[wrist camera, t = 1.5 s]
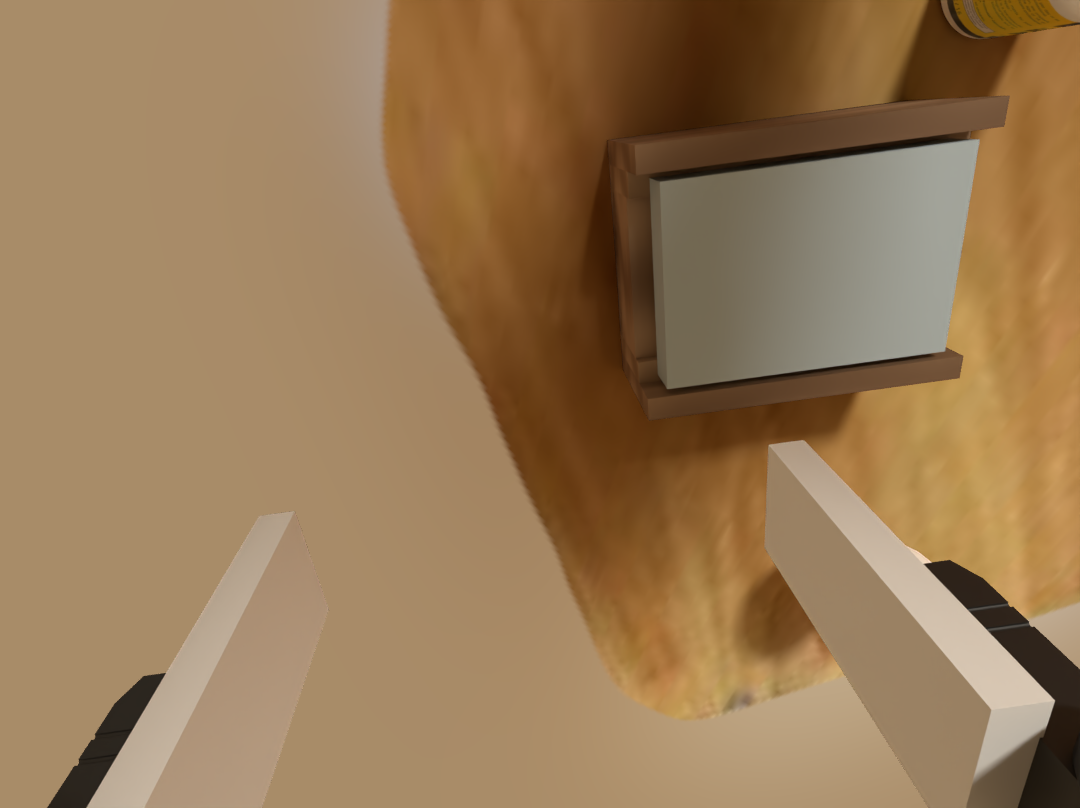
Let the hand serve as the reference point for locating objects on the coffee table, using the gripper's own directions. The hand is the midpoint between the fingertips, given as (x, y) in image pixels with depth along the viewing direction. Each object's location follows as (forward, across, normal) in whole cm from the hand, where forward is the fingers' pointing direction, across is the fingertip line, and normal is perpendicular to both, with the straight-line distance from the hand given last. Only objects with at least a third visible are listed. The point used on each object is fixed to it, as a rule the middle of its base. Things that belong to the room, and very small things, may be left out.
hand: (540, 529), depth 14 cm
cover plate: (+19, +14, 0) cm, 23 cm away
